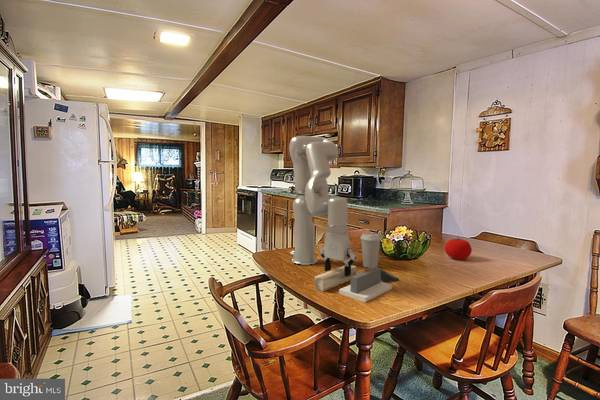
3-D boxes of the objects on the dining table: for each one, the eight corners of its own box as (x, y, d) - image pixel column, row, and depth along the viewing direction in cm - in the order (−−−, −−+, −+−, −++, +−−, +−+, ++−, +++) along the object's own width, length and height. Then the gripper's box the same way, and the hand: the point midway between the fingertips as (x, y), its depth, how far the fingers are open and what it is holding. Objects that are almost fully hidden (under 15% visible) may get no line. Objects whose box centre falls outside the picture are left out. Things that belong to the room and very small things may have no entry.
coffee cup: (381, 269, 142) (382, 236, 141) (359, 268, 144) (360, 235, 143) (380, 263, 152) (381, 232, 150) (359, 262, 153) (360, 231, 152)
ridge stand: (339, 293, 114) (339, 274, 114) (366, 281, 127) (367, 264, 126) (365, 302, 107) (365, 282, 106) (391, 288, 119) (392, 270, 119)
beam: (314, 289, 119) (314, 276, 118) (347, 275, 135) (348, 264, 134) (322, 292, 116) (322, 279, 115) (356, 278, 132) (356, 266, 131)
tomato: (475, 260, 158) (477, 239, 158) (457, 262, 154) (458, 241, 153) (457, 255, 169) (458, 235, 168) (439, 257, 164) (440, 237, 163)
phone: (379, 268, 142) (399, 279, 128) (379, 270, 142) (399, 281, 128) (363, 270, 139) (383, 281, 125) (363, 272, 140) (382, 283, 125)
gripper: (314, 228, 127) (314, 270, 128) (350, 233, 114) (349, 280, 115) (326, 226, 132) (326, 267, 133) (361, 230, 120) (361, 275, 121)
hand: (337, 273), depth 124 cm, fingers open, 9 cm apart
